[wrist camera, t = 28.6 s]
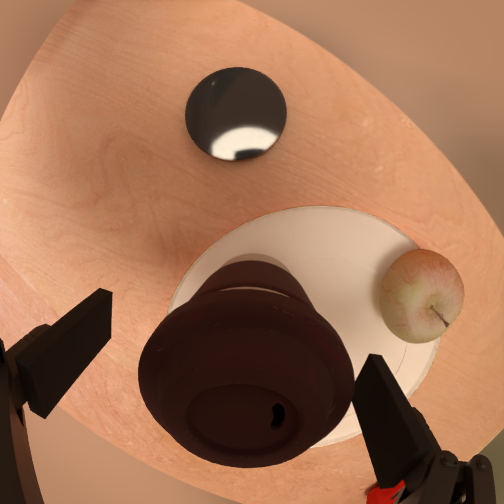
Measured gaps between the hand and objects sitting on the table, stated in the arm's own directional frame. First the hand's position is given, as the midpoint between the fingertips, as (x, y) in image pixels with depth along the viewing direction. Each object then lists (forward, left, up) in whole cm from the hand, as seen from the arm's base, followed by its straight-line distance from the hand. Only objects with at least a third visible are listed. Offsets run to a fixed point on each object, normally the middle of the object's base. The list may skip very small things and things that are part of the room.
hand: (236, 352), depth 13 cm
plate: (+6, +8, -12) cm, 15 cm away
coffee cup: (+1, +1, -12) cm, 12 cm away
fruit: (-3, +14, -12) cm, 18 cm away
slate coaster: (-13, -4, -12) cm, 18 cm away
